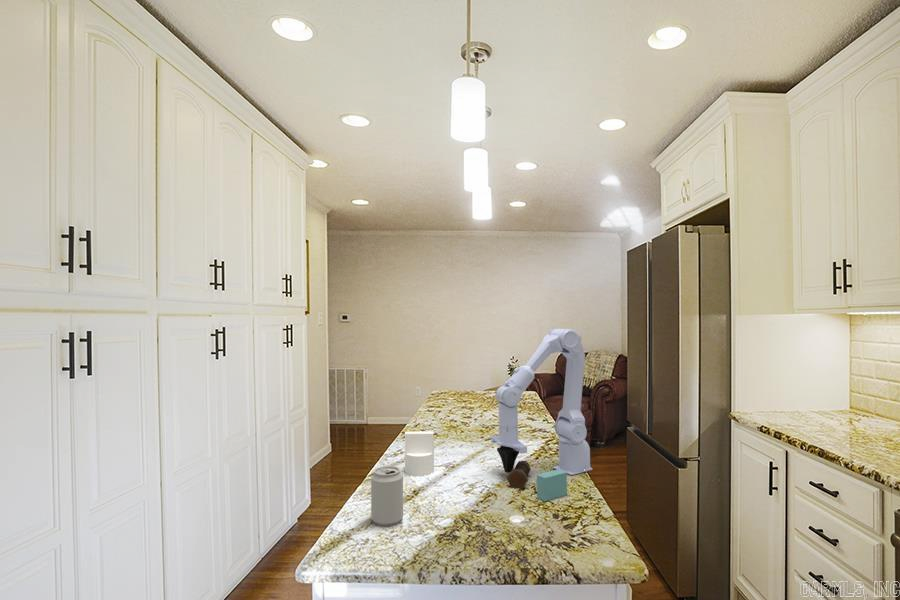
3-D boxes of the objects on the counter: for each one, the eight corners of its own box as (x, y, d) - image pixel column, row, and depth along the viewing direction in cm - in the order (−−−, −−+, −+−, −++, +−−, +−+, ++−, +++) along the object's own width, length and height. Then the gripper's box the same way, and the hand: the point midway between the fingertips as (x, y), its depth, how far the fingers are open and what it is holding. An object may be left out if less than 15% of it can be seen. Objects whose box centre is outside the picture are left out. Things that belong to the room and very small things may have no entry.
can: (389, 530, 105) (389, 476, 106) (364, 522, 109) (364, 471, 110) (409, 517, 112) (409, 467, 112) (385, 511, 116) (385, 462, 116)
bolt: (527, 477, 144) (519, 494, 130) (512, 468, 146) (504, 483, 131) (536, 461, 144) (530, 476, 129) (522, 452, 145) (514, 465, 131)
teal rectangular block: (550, 487, 130) (550, 466, 130) (566, 494, 125) (566, 472, 125) (529, 494, 126) (529, 471, 126) (545, 501, 121) (544, 478, 121)
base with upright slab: (434, 466, 149) (433, 428, 150) (433, 476, 140) (433, 436, 141) (405, 466, 149) (405, 429, 150) (403, 476, 140) (403, 436, 141)
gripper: (483, 423, 144) (483, 467, 144) (513, 433, 132) (514, 481, 131) (500, 420, 148) (501, 463, 147) (532, 429, 136) (532, 476, 135)
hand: (508, 471), depth 140 cm, fingers closed
